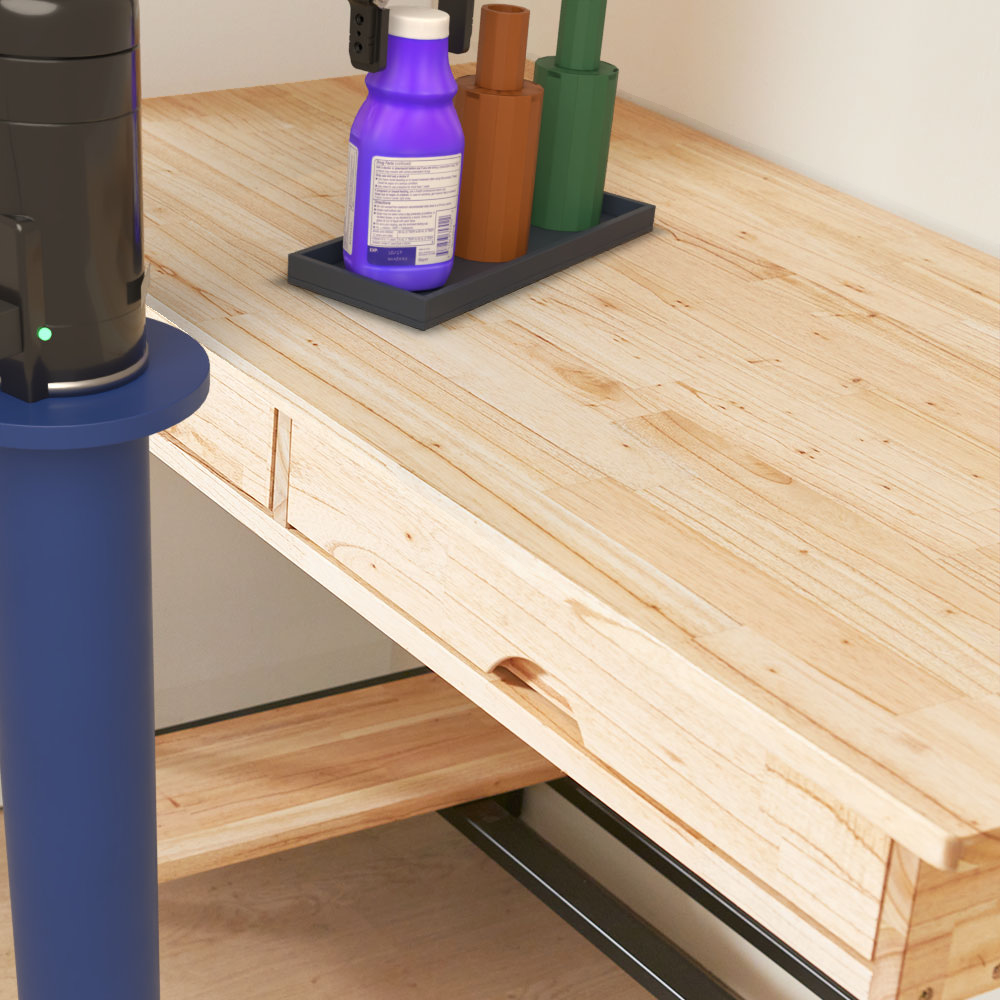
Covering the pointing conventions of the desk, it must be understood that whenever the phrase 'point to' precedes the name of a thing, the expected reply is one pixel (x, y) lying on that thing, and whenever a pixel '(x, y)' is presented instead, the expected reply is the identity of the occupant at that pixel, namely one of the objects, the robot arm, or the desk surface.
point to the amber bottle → (498, 140)
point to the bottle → (406, 160)
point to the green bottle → (574, 122)
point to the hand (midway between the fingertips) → (411, 60)
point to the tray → (469, 268)
